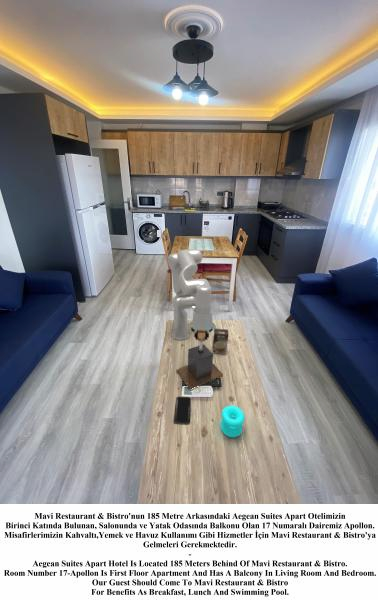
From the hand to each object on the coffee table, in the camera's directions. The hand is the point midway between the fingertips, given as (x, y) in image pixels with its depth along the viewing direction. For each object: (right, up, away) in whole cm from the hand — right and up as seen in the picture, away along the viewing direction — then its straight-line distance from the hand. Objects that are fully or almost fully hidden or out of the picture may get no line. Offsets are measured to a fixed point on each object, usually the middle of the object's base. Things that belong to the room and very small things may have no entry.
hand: (201, 337), depth 129 cm
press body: (-1, -23, +12) cm, 26 cm away
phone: (-10, -35, -10) cm, 37 cm away
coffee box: (+13, -14, +30) cm, 36 cm away
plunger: (0, -15, +8) cm, 16 cm away
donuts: (+13, -39, -18) cm, 45 cm away
